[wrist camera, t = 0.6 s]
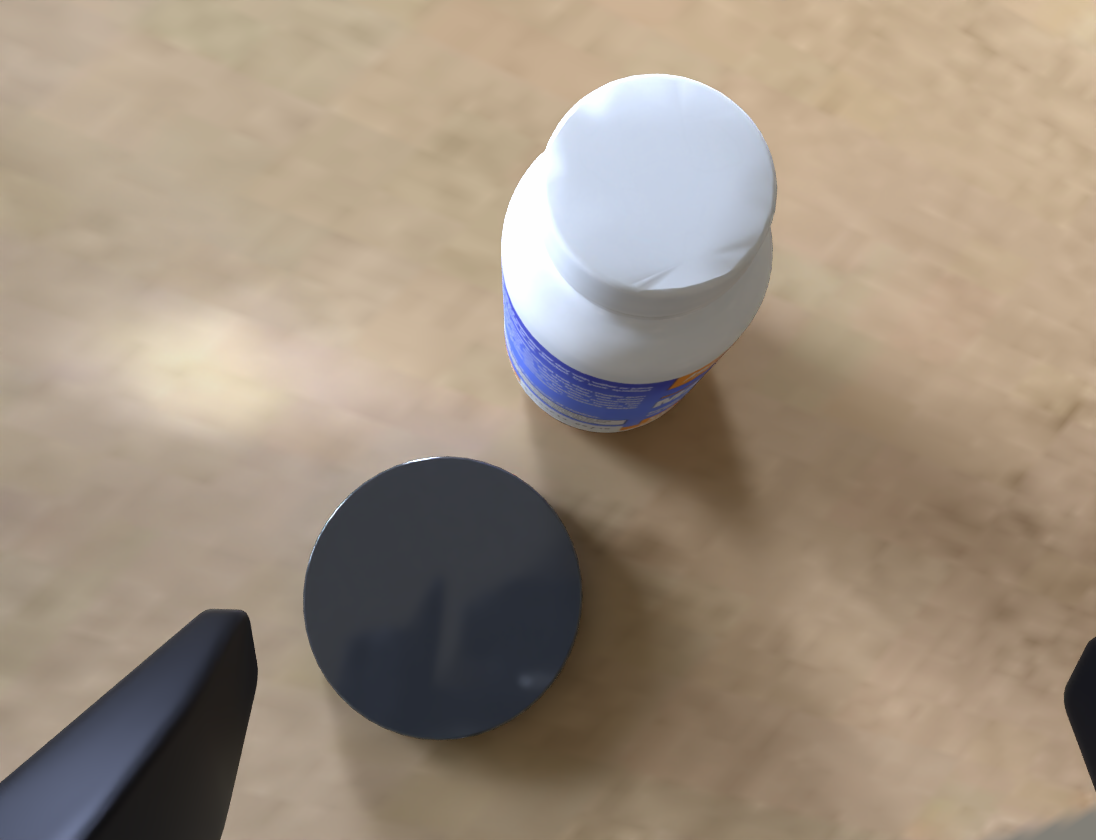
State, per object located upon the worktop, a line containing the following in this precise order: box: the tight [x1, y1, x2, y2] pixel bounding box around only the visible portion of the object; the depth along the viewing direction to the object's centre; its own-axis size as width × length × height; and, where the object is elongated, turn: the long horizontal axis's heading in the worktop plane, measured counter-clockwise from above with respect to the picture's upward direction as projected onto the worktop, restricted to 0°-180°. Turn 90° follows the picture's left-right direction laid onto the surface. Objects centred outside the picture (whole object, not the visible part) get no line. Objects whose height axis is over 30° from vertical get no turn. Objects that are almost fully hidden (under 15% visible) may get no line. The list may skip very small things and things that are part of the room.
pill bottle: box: [502, 74, 777, 433], centre depth 19 cm, size 5×5×10 cm
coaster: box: [303, 456, 583, 740], centre depth 22 cm, size 7×7×1 cm
